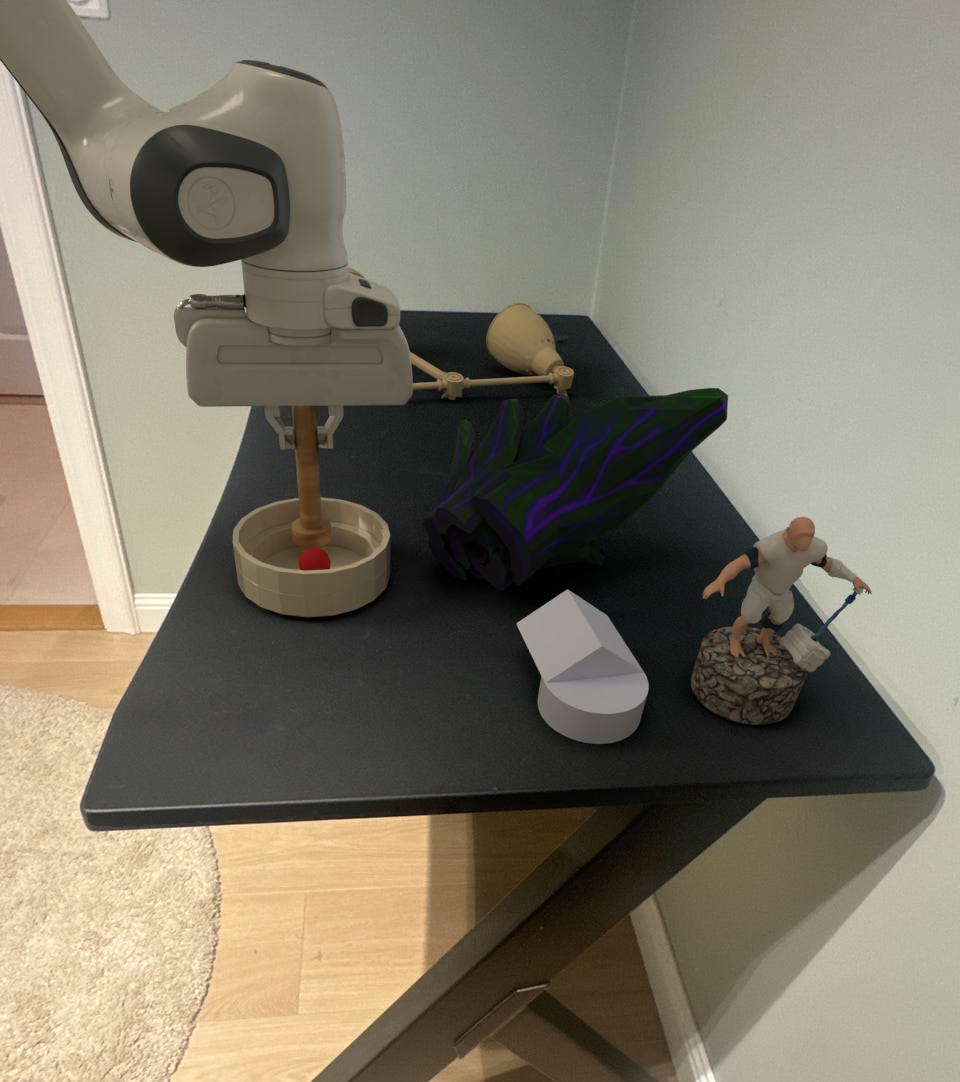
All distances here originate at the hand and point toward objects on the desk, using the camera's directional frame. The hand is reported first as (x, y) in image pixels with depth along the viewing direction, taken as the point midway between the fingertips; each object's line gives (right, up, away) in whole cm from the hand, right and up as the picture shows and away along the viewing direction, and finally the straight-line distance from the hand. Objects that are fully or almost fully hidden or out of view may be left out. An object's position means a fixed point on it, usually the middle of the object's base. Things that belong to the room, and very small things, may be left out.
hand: (306, 447), depth 75 cm
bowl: (0, -12, +5) cm, 13 cm away
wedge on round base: (+26, -24, -6) cm, 36 cm away
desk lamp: (+11, +27, +59) cm, 66 cm away
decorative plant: (+23, -9, +13) cm, 28 cm away
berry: (0, -11, +3) cm, 11 cm away
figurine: (+41, -24, -5) cm, 47 cm away
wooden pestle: (-1, -8, +6) cm, 10 cm away
